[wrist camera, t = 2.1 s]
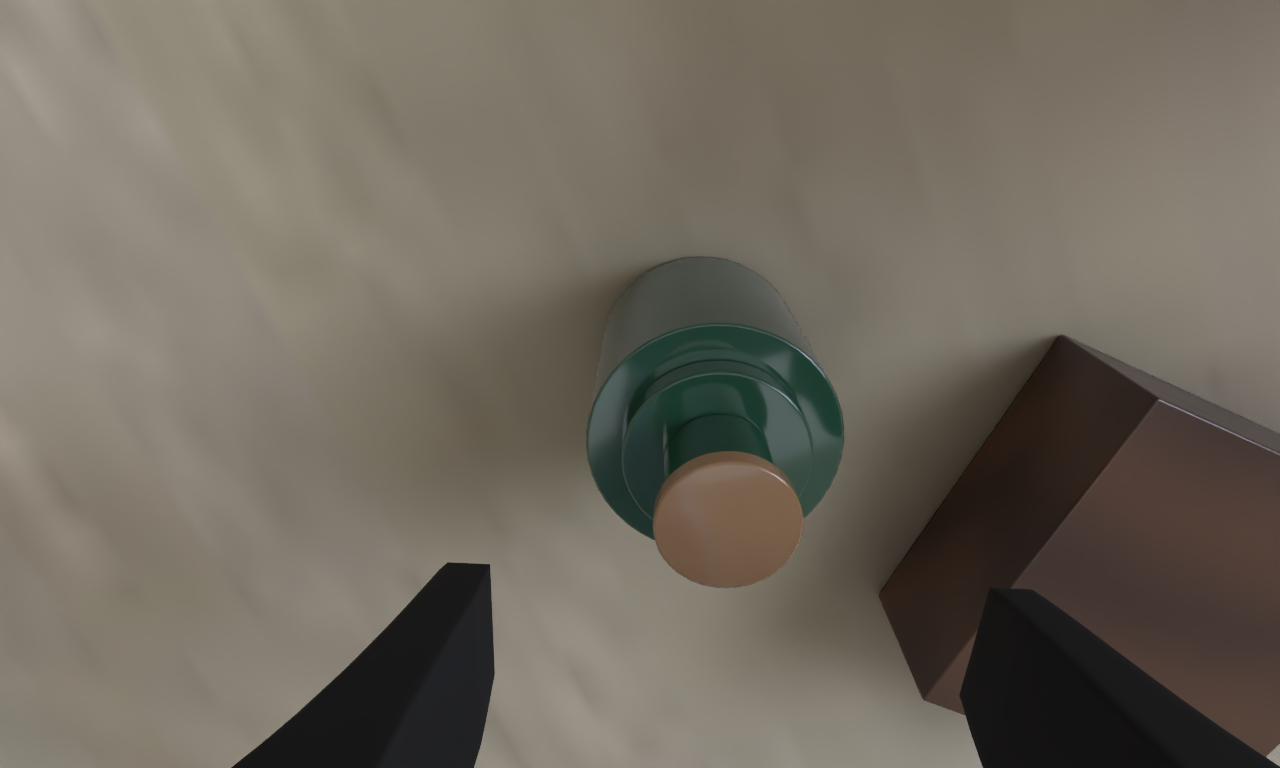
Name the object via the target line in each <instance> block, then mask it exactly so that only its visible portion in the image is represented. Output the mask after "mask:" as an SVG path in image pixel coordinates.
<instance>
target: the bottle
mask: <svg viewBox="0 0 1280 768" xmlns="http://www.w3.org/2000/svg"><path fill="white" fill-rule="evenodd" d="M843 444H844V424H843V416H842V411H841V407H840V404H839V400H838V397H837V395H836V393H835V391H834V389H833V386H832V384H831V382H830V381H829V379H828V377H827V375H826V374H825V372H824V370H823V368H822V367H821V365H820V363H819V361H818V359H817V358H816V356H815V354H814V352H813V351H812V349H811V347H810V345H809V344H808V342H807V340H806V338H805V337H804V335H803V333H802V331H801V329H800V328H799V326H798V324H797V322H796V321H795V319H794V317H793V315H792V314H791V312H790V310H789V308H788V307H787V305H786V303H785V302H784V300H783V299H782V297H781V296H780V294H779V293H778V292H777V291H776V289H775V288H774V287H773V286H772V285H771V284H770V283H769V282H768V281H767V280H765V279H764V278H763V277H762V276H761V275H759V274H757V273H756V272H754V271H753V270H751V269H749V268H747V267H745V266H743V265H741V264H739V263H736V262H732V261H729V260H726V259H720V258H714V257H691V258H683V259H679V260H674V261H671V262H668V263H665V264H663V265H660V266H658V267H656V268H654V269H652V270H650V271H648V272H647V273H646V274H644V275H643V276H641V277H640V278H638V279H637V280H636V281H635V282H634V283H633V284H631V285H630V286H629V287H628V288H627V289H626V291H625V292H624V293H623V294H622V295H621V296H620V298H619V299H618V301H617V302H616V304H615V306H614V307H613V309H612V311H611V313H610V315H609V318H608V320H607V323H606V327H605V330H604V335H603V341H602V346H601V352H600V357H599V363H598V368H597V374H596V380H595V385H594V391H593V396H592V402H591V407H590V413H589V419H588V425H587V431H586V449H587V457H588V463H589V466H590V470H591V473H592V476H593V479H594V481H595V483H596V485H597V487H598V489H599V491H600V493H601V494H602V496H603V497H604V499H605V501H606V502H607V503H608V504H609V506H610V507H611V508H612V509H613V510H614V512H615V513H616V514H617V515H618V516H619V517H620V518H622V519H623V520H624V521H625V522H626V523H627V524H628V525H630V526H631V527H633V528H634V529H635V530H637V531H638V532H640V533H641V534H643V535H645V536H647V537H649V538H651V539H653V540H655V542H656V545H657V547H658V550H659V552H660V553H661V555H662V557H663V558H664V560H665V561H666V562H667V563H668V564H669V565H670V566H671V567H672V568H673V569H674V570H675V571H676V572H677V573H679V574H680V575H682V576H683V577H685V578H687V579H689V580H691V581H693V582H696V583H698V584H701V585H705V586H709V587H716V588H736V587H742V586H747V585H750V584H754V583H756V582H759V581H761V580H764V579H766V578H767V577H769V576H771V575H772V574H774V573H775V572H777V571H778V570H779V569H780V568H782V567H783V566H784V565H785V564H786V563H787V562H788V560H789V559H790V558H791V557H792V555H793V554H794V552H795V551H796V549H797V546H798V544H799V542H800V539H801V536H802V531H803V518H804V517H805V516H807V515H808V514H809V513H810V512H811V511H812V510H813V509H814V508H815V506H816V505H817V504H818V503H819V502H820V500H821V499H822V498H823V496H824V495H825V493H826V492H827V490H828V489H829V487H830V485H831V483H832V481H833V479H834V477H835V475H836V473H837V470H838V466H839V463H840V460H841V456H842V450H843Z"/></svg>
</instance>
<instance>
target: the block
mask: <svg viewBox="0 0 1280 768" xmlns="http://www.w3.org/2000/svg"><path fill="white" fill-rule="evenodd" d="M989 588H1012V589H1032V590H1034V591H1035V592H1037V593H1038V594H1040V595H1041V596H1043V597H1044V598H1046V599H1047V600H1049V601H1050V602H1052V603H1053V604H1054V605H1056V606H1057V607H1059V608H1060V609H1061V610H1063V611H1064V612H1066V613H1067V614H1068V615H1070V616H1071V617H1072V618H1074V619H1075V620H1076V621H1078V622H1079V623H1080V624H1082V625H1083V626H1084V627H1086V628H1087V629H1088V630H1090V631H1091V632H1092V633H1094V634H1095V635H1096V636H1098V637H1099V638H1100V639H1102V640H1103V641H1104V642H1106V643H1107V644H1108V645H1110V646H1111V647H1112V648H1114V649H1115V650H1116V651H1118V652H1119V653H1120V654H1122V655H1123V656H1124V657H1126V658H1127V659H1128V660H1130V661H1131V662H1132V663H1134V664H1135V665H1136V666H1138V667H1139V668H1140V669H1142V670H1143V671H1144V672H1146V673H1147V674H1148V675H1150V676H1151V677H1152V678H1154V679H1155V680H1156V681H1158V682H1159V683H1161V684H1162V685H1163V686H1165V687H1166V688H1167V689H1169V690H1170V691H1171V692H1173V693H1174V694H1176V695H1177V696H1178V697H1180V698H1181V699H1182V700H1184V701H1185V702H1187V703H1188V704H1189V705H1191V706H1192V707H1194V708H1195V709H1196V710H1198V711H1199V712H1201V713H1202V714H1203V715H1205V716H1206V717H1208V718H1209V719H1210V720H1212V721H1213V722H1215V723H1216V724H1217V725H1219V726H1220V727H1222V728H1223V729H1225V730H1226V731H1228V732H1229V733H1231V734H1232V735H1234V736H1235V737H1237V738H1238V739H1239V740H1241V741H1242V742H1244V743H1245V744H1247V745H1248V746H1250V747H1251V748H1253V749H1254V750H1256V751H1257V752H1259V753H1260V754H1261V755H1263V756H1264V757H1266V756H1267V755H1268V754H1269V753H1270V752H1272V751H1273V750H1274V749H1275V748H1276V747H1277V746H1278V745H1279V744H1280V434H1278V433H1276V432H1274V431H1272V430H1270V429H1267V428H1265V427H1263V426H1261V425H1259V424H1256V423H1254V422H1252V421H1250V420H1248V419H1246V418H1243V417H1241V416H1239V415H1237V414H1235V413H1232V412H1230V411H1228V410H1226V409H1224V408H1222V407H1219V406H1217V405H1215V404H1213V403H1211V402H1208V401H1206V400H1204V399H1202V398H1200V397H1198V396H1195V395H1193V394H1191V393H1189V392H1187V391H1184V390H1182V389H1180V388H1178V387H1176V386H1174V385H1171V384H1169V383H1167V382H1165V381H1163V380H1160V379H1158V378H1156V377H1154V376H1152V375H1150V374H1147V373H1145V372H1143V371H1141V370H1139V369H1136V368H1134V367H1132V366H1130V365H1128V364H1126V363H1123V362H1121V361H1119V360H1117V359H1115V358H1112V357H1110V356H1108V355H1106V354H1104V353H1102V352H1099V351H1097V350H1095V349H1093V348H1091V347H1088V346H1086V345H1084V344H1082V343H1080V342H1078V341H1075V340H1073V339H1071V338H1069V337H1067V336H1064V335H1061V336H1059V338H1058V339H1057V341H1056V342H1055V344H1054V345H1053V346H1052V348H1051V349H1050V351H1049V352H1048V354H1047V355H1046V356H1045V358H1044V359H1043V361H1042V362H1041V364H1040V365H1039V367H1038V368H1037V369H1036V371H1035V372H1034V374H1033V375H1032V377H1031V378H1030V379H1029V381H1028V382H1027V384H1026V385H1025V387H1024V388H1023V389H1022V391H1021V392H1020V394H1019V395H1018V397H1017V398H1016V399H1015V401H1014V402H1013V404H1012V405H1011V407H1010V408H1009V409H1008V411H1007V412H1006V414H1005V415H1004V417H1003V418H1002V420H1001V421H1000V422H999V424H998V425H997V427H996V428H995V430H994V431H993V432H992V434H991V435H990V437H989V438H988V440H987V441H986V442H985V444H984V445H983V447H982V448H981V450H980V451H979V452H978V454H977V455H976V457H975V458H974V460H973V461H972V462H971V464H970V465H969V467H968V468H967V470H966V471H965V473H964V474H963V475H962V477H961V478H960V480H959V481H958V483H957V484H956V485H955V487H954V488H953V490H952V491H951V493H950V494H949V495H948V497H947V498H946V500H945V501H944V503H943V504H942V505H941V507H940V508H939V510H938V511H937V513H936V514H935V515H934V517H933V518H932V520H931V521H930V523H929V524H928V525H927V527H926V528H925V530H924V531H923V533H922V534H921V536H920V537H919V538H918V540H917V541H916V543H915V544H914V546H913V547H912V548H911V550H910V551H909V553H908V554H907V556H906V557H905V558H904V560H903V561H902V563H901V564H900V566H899V567H898V568H897V570H896V571H895V573H894V574H893V576H892V577H891V578H890V580H889V581H888V583H887V584H886V586H885V587H884V589H883V590H882V591H881V593H880V594H879V598H880V601H881V603H882V605H883V608H884V610H885V612H886V615H887V617H888V619H889V622H890V624H891V626H892V629H893V631H894V633H895V636H896V638H897V640H898V643H899V645H900V647H901V650H902V652H903V654H904V657H905V659H906V661H907V664H908V666H909V669H910V671H911V673H912V676H913V678H914V680H915V683H916V685H917V687H918V690H919V692H920V694H921V697H922V699H923V700H925V701H927V702H930V703H933V704H936V705H938V706H941V707H944V708H947V709H949V710H952V711H955V712H958V713H961V714H963V715H965V712H964V709H963V705H962V702H961V699H960V696H959V694H960V691H961V687H962V684H963V680H964V677H965V673H966V670H967V666H968V663H969V659H970V656H971V652H972V648H973V645H974V641H975V638H976V634H977V631H978V627H979V624H980V620H981V617H982V613H983V610H984V606H985V603H986V599H987V595H988V592H989Z"/></svg>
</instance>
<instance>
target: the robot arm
mask: <svg viewBox="0 0 1280 768" xmlns="http://www.w3.org/2000/svg"><path fill="white" fill-rule="evenodd" d="M494 674H495V673H494V649H493V625H492V601H491V577H490V564H469V563H447V564H445V565H444V566H443V567H442V568H441V569H440V570H439V571H438V572H437V573H436V574H435V575H434V576H433V577H432V579H431V580H430V581H429V582H428V583H427V584H426V585H425V586H424V588H423V589H422V590H421V591H420V592H419V593H418V594H417V595H416V596H415V597H414V599H413V600H412V601H411V602H410V603H409V604H408V605H407V606H406V607H405V608H404V609H403V610H402V612H401V613H400V614H399V615H398V616H397V617H396V618H395V619H394V620H393V621H392V622H391V623H390V624H389V625H388V626H387V628H386V629H385V630H384V631H383V632H382V633H381V634H380V635H379V636H378V637H377V638H376V639H375V640H374V641H373V642H372V643H371V644H370V645H369V646H368V647H367V648H366V649H365V650H364V651H363V652H362V653H361V654H360V655H359V656H358V657H357V658H356V659H355V660H354V661H353V662H352V663H351V664H350V665H349V666H348V667H347V668H346V669H345V670H344V671H343V672H342V673H341V674H339V675H338V676H337V677H336V678H335V679H334V680H333V681H332V682H331V683H330V684H329V685H327V686H326V687H325V688H324V689H323V690H322V691H321V692H320V693H319V694H318V695H317V696H316V697H314V698H313V699H312V700H311V701H310V702H309V703H308V704H307V705H306V706H305V707H304V708H302V709H301V710H300V711H299V712H298V713H297V714H296V715H295V716H294V717H292V718H291V719H290V720H289V721H288V722H287V723H285V724H284V725H283V726H282V727H281V728H279V729H278V730H277V731H276V732H275V733H274V734H272V735H271V736H270V737H269V738H268V739H266V740H265V741H264V742H263V743H262V744H260V745H259V746H258V747H257V748H255V749H254V750H253V751H252V752H250V753H249V754H248V755H247V756H245V757H244V758H243V759H242V760H240V761H239V762H238V763H236V764H235V765H234V766H233V767H231V768H474V765H475V762H476V759H477V755H478V752H479V749H480V745H481V742H482V737H483V732H484V727H485V722H486V717H487V712H488V706H489V701H490V696H491V690H492V685H493V680H494ZM959 696H960V699H961V702H962V705H963V709H964V712H965V715H966V718H967V722H968V725H969V728H970V731H971V734H972V737H973V740H974V743H975V746H976V749H977V752H978V755H979V758H980V760H981V763H982V766H983V768H1280V767H1279V766H1278V765H1276V764H1275V763H1273V762H1272V761H1270V760H1269V759H1267V758H1266V757H1264V756H1263V755H1261V754H1260V753H1259V752H1257V751H1256V750H1254V749H1253V748H1251V747H1250V746H1248V745H1247V744H1245V743H1244V742H1242V741H1241V740H1239V739H1238V738H1237V737H1235V736H1234V735H1232V734H1231V733H1229V732H1228V731H1226V730H1225V729H1223V728H1222V727H1220V726H1219V725H1217V724H1216V723H1215V722H1213V721H1212V720H1210V719H1209V718H1208V717H1206V716H1205V715H1203V714H1202V713H1201V712H1199V711H1198V710H1196V709H1195V708H1194V707H1192V706H1191V705H1189V704H1188V703H1187V702H1185V701H1184V700H1182V699H1181V698H1180V697H1178V696H1177V695H1176V694H1174V693H1173V692H1171V691H1170V690H1169V689H1167V688H1166V687H1165V686H1163V685H1162V684H1161V683H1159V682H1158V681H1156V680H1155V679H1154V678H1152V677H1151V676H1150V675H1148V674H1147V673H1146V672H1144V671H1143V670H1142V669H1140V668H1139V667H1138V666H1136V665H1135V664H1134V663H1132V662H1131V661H1130V660H1128V659H1127V658H1126V657H1124V656H1123V655H1122V654H1120V653H1119V652H1118V651H1116V650H1115V649H1114V648H1112V647H1111V646H1110V645H1108V644H1107V643H1106V642H1104V641H1103V640H1102V639H1100V638H1099V637H1098V636H1096V635H1095V634H1094V633H1092V632H1091V631H1090V630H1088V629H1087V628H1086V627H1084V626H1083V625H1082V624H1080V623H1079V622H1078V621H1076V620H1075V619H1074V618H1072V617H1071V616H1070V615H1068V614H1067V613H1066V612H1064V611H1063V610H1061V609H1060V608H1059V607H1057V606H1056V605H1054V604H1053V603H1052V602H1050V601H1049V600H1047V599H1046V598H1044V597H1043V596H1041V595H1040V594H1038V593H1037V592H1035V591H1034V590H1032V589H1012V588H989V592H988V595H987V599H986V603H985V606H984V610H983V613H982V617H981V620H980V624H979V627H978V631H977V634H976V638H975V641H974V645H973V648H972V652H971V656H970V659H969V663H968V666H967V670H966V673H965V677H964V680H963V684H962V687H961V691H960V694H959Z"/></svg>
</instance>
